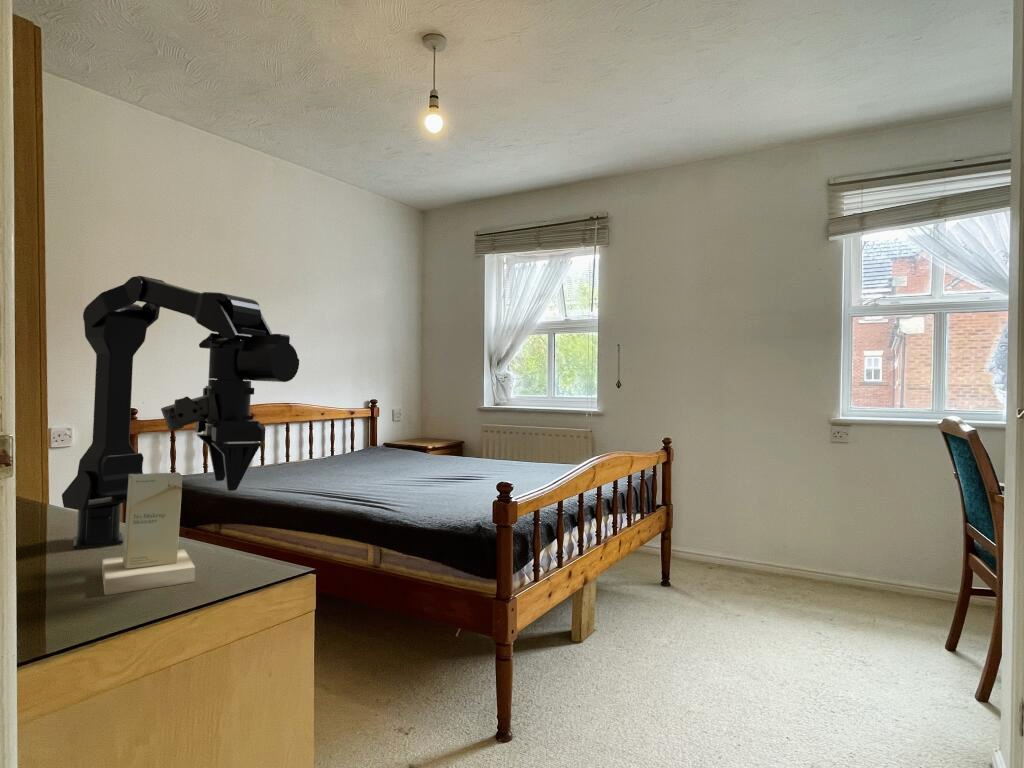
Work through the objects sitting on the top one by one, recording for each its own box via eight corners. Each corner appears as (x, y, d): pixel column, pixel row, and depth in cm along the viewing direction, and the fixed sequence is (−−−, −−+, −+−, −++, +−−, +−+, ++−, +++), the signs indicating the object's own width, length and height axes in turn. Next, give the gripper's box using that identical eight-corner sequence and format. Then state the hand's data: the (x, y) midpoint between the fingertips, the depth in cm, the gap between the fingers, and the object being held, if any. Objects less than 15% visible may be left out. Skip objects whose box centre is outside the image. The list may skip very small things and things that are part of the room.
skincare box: (124, 570, 76) (129, 478, 76) (122, 561, 79) (126, 473, 79) (179, 563, 80) (183, 475, 80) (174, 555, 83) (178, 471, 83)
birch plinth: (101, 573, 80) (102, 558, 80) (183, 562, 86) (184, 549, 86) (104, 595, 72) (105, 579, 72) (194, 581, 78) (195, 567, 78)
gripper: (159, 377, 88) (155, 479, 87) (175, 378, 73) (170, 501, 72) (238, 380, 94) (234, 475, 94) (268, 381, 79) (263, 494, 79)
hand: (225, 485), depth 85 cm, fingers open, 9 cm apart
